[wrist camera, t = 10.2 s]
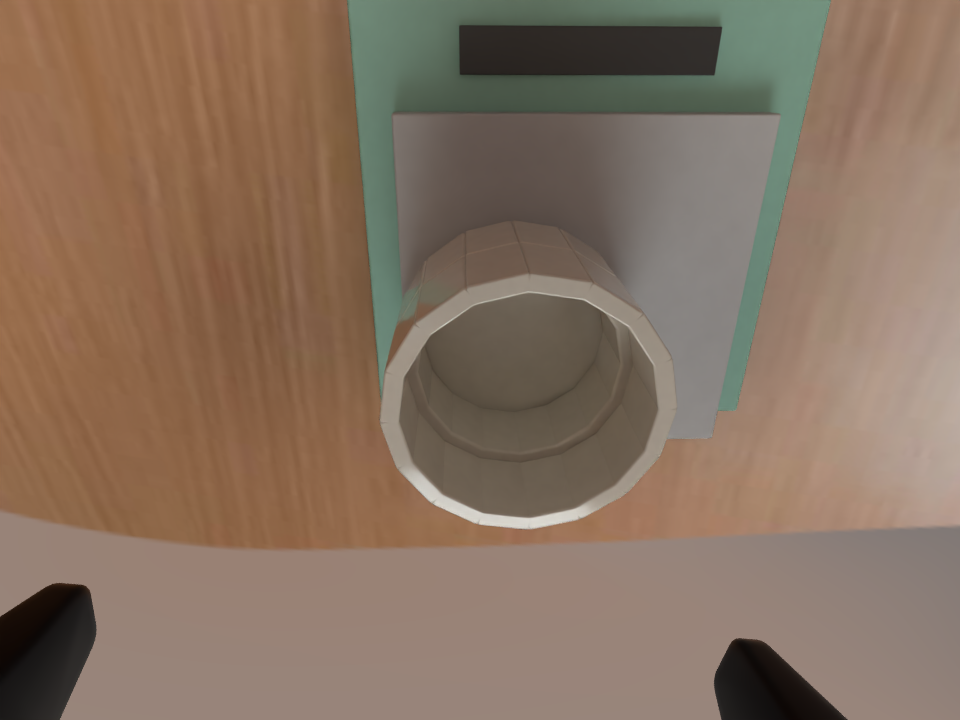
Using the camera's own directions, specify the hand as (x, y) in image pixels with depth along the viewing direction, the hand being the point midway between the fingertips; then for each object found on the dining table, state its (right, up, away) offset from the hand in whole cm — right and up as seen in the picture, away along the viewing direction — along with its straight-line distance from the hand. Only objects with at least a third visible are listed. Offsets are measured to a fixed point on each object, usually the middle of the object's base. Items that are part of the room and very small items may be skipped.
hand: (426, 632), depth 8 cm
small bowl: (+2, +5, +8) cm, 9 cm away
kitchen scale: (+3, +8, +9) cm, 12 cm away
